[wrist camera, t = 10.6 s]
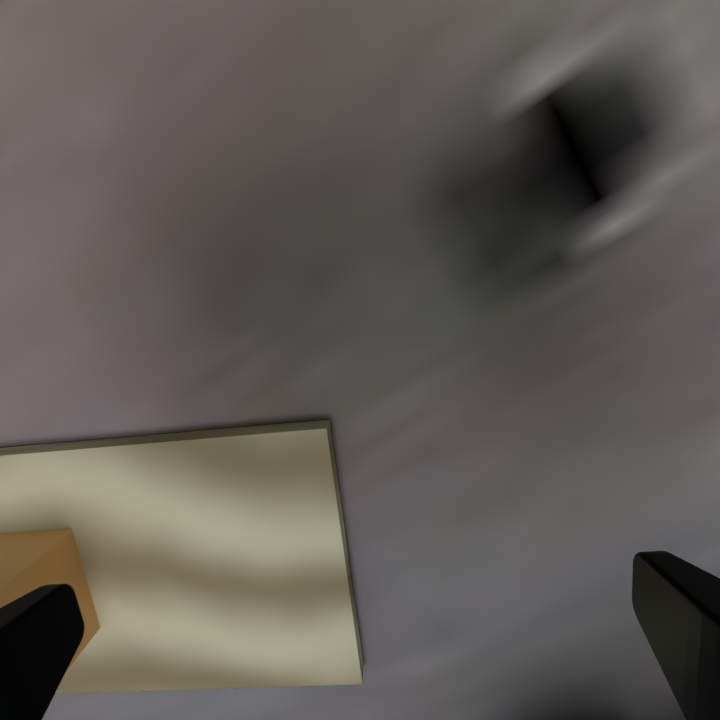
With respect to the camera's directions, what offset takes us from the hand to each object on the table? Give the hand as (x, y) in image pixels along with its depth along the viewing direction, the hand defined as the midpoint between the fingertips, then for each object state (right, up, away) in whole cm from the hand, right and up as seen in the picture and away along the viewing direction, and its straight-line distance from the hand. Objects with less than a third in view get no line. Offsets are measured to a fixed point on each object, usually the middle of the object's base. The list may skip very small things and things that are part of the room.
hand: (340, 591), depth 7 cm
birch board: (-10, -6, +15) cm, 19 cm away
